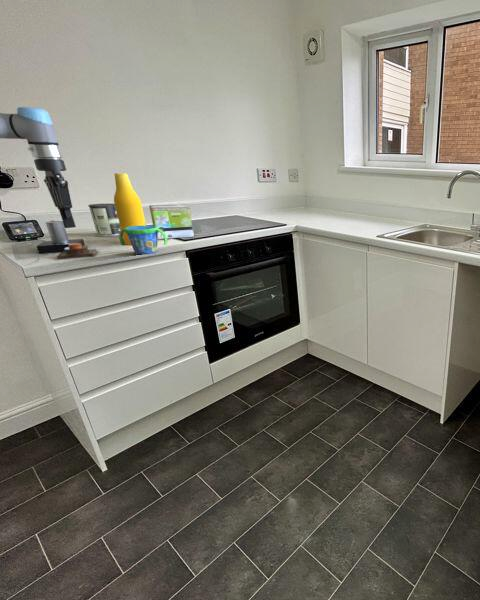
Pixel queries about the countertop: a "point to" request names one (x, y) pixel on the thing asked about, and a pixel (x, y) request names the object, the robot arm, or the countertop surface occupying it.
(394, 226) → the countertop surface
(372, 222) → the countertop surface
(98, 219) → the coffee can
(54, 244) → the control panel
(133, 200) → the beer bottle
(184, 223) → the tea box
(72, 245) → the button
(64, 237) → the dial
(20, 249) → the countertop surface
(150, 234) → the snack cup
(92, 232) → the countertop surface
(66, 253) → the button block
